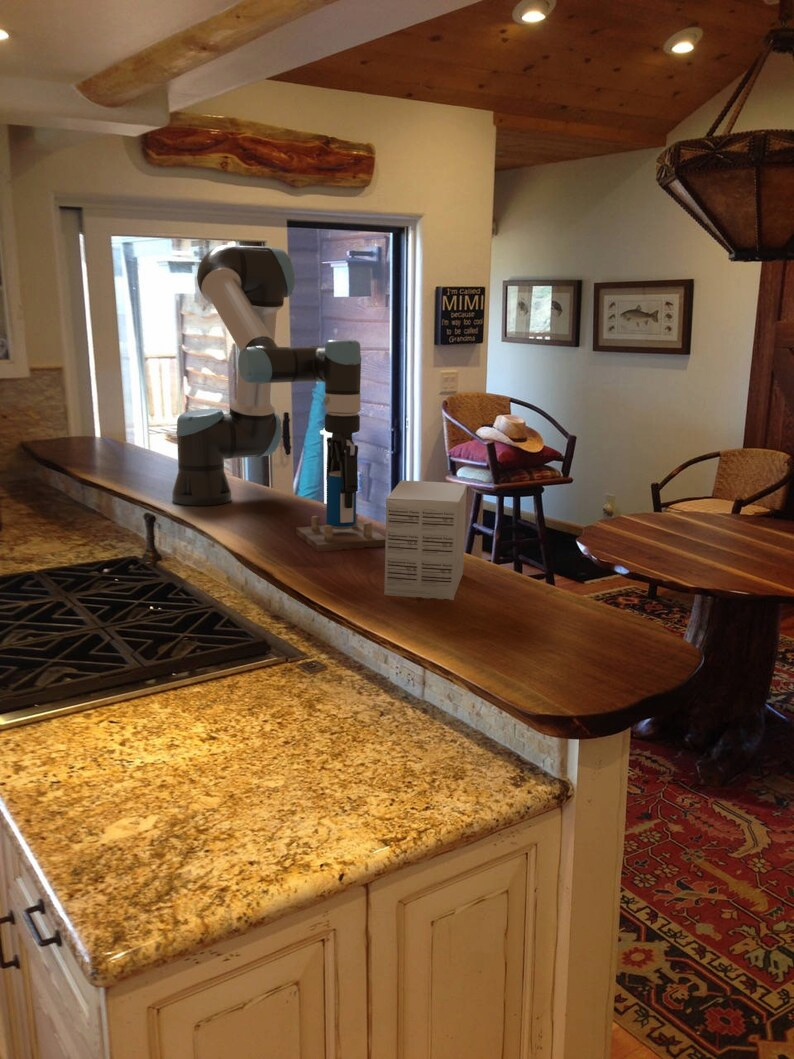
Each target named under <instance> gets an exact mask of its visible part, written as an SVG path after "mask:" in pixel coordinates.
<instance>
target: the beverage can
mask: <svg viewBox="0 0 794 1059" xmlns="http://www.w3.org/2000/svg"><path fill="white" fill-rule="evenodd" d="M341 490H342V482H341V472H340V471H334V472H330V473H329V476H328V477H327V480H326V513H325V514H326V522H325V525H332V526H333V529H338V530H345V529H351V528H352V527H353V526H354V525H355V524H356V514H357V491H356V492H354V500H353V522H346V523H341V522H340V499H341V494H340V493H339V491H341Z"/></svg>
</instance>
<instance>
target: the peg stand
mask: <svg viewBox="0 0 794 1059" xmlns="http://www.w3.org/2000/svg"><path fill="white" fill-rule="evenodd" d="M320 518H321V516H318V515H312V516H311V526H299V527H295V533H297V534H298V535H299V536H300V537H301V538H300V537H299V536H298V535H297V534H296V535H297V536H298V537H299V538H300V539H302V540H303V539H304V540H305V541H306V542H307V543H306V542H305V541H304V540H303V541H304V542H305V543H306V544H308V545H309V546H310V545H311V546H312V548H313V549H314V550H315V551H316V552H317V551H318V553H319V552H320V551H321V552H332V550H333V551H342V549H345V550H352V549H351V548H357V549H365V548H364V547H369V548H377V547H378V548H379V547H380V548H381V547H385V542H386V536H384V535H383V534H381V533H379V532H378V531H376V529H375V530H374V529H373V523H372V522H368V521H367V522H359V521H358V513H356V524H355V525H354V526H353V527H352V528H351V529H345V530H338V529H333V526H332V525H327V524H325V525H321V519H320ZM311 546H310V547H311Z"/></svg>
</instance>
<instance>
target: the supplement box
mask: <svg viewBox="0 0 794 1059" xmlns="http://www.w3.org/2000/svg"><path fill="white" fill-rule="evenodd" d="M467 488H468V484H467V483H462V482H461V483H458V482H445V481H444V482H443V481H439V482H438V481H423V480H405V479H404V480H402V479H401V480H400V481H399V482H398V483H397V485H396V486H395V487H394V489H393V490H392V491H391V492H390V493H389V495H388V496H387V497H386V499H385V537H386V542H385V546H384V548H385V549H384V550H385V552H384V554H385V555H384V557H385V558H384V559H385V560H384V593H383V594H384V595H385V596H390V597H391V596H392V597H393V596H394V597H403V596H404V597H406V598H416V597H422V598H421V599H430V598H437V599H436V600H444V599H450V600H449V601H454V600H455V595H456V593H457V591H458V588H459V585H460V582H461V580H462V577H463V574H464V558H465V557H464V554H465V537H466V536H465V535H466V513H467V512H466V510H467V493H468V492H467V490H468V489H467Z"/></svg>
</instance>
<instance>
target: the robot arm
mask: <svg viewBox="0 0 794 1059" xmlns="http://www.w3.org/2000/svg"><path fill="white" fill-rule="evenodd" d="M196 273H197V274H196V278H197V279H196V280H197V282H196V283H197V286H198V289H199V291H200V293H201V295H202V296H203V298H204V300H206V301H207V302H208V303H210V304H212V305H213V307H214V308H215V310H216V312H217V314H218V315H219V317H220V319H221V320H222V323H223V324H224V326H225V327H226V329H227V331H228V333H229V334H230V336H231V338H232V339H233V342H234V343H235V344H236V347H237V348H238V350H239V353H238V360H237V361H238V362H237V365H238V366H237V367H238V369H237V371H238V372H237V384H236V386H237V387H236V399H235V400H234V401H232V403H231V404H230V406H229V413H224V412H223V410H222V409H220V408H202V409H195V410H191V411H187V412H184V413H182V414H180V415H179V416H178V418H177V422H176V437H177V439H176V440H177V464H178V466H177V468H178V470H177V475H176V478H175V482H174V485H173V488H172V496H171V498H172V502H173V503H175V504H178V505H184V506H194V507H195V506H197V507H200V506H201V507H202V506H214V505H215V506H216V505H221V504H226V503H229V502H231V501H232V498H233V497H232V490H231V487H230V484H229V481H228V479H227V476H226V473H225V459H226V460H230V459H240V458H244V459H245V458H246V459H247V458H262V457H267V456H271V455H273V453H275V452H276V451H277V449H278V447H279V446H280V443H281V440H282V431H283V427H282V426H281V424H282V420H281V418H280V416H279V415H278V414H277V413H276V409H275V407H274V405H272V404H271V390H272V384H275V383H277V384H278V383H315V382H316V383H324V398H322V402H323V403H324V410H325V412H326V414H325V415H324V431H325V432H327V433H331V434H332V435H331V437H330V436H329V437H327V438H326V446H327V447H326V448H327V451H326V481H327V477H328V476H329V473H330V472H334V471H340V472H341V482H342V490H341V491H339V493H340V494H341V499H340V522H341V523H346V522H353V500H354V492H356V493H357V492H358V491H359V486H358V485H359V482H358V479H359V478H358V474H359V473H358V456H359V455H358V453H359V446H358V445H356V444H355V442H354V441H353V435H354V434H357V433H359V432H360V430H361V426H360V425H361V416H360V415H359V414H358V413H360V412H361V374H362V373H361V372H362V355H361V344H360V342H359V341H358V340H355V339H354V340H353V339H328V340H327V341H326V342H325V345H324V346H325V347H324V346H322V345H311V346H278V345H277V344H276V342H275V339H276V338H275V337H276V326H277V325H276V324H277V313H278V311H280V309H282V308H283V307H284V301H285V300H284V299H285V298H288V297H290V296H292V295H293V292H294V290H295V279H296V278H295V277H296V276H295V270H294V266H293V263H292V261H291V258H290V256H289V255H288V253H287V252H286V251H285V250H284V249H282V248H277V247H271V246H257V245H255V246H253V245H233V244H223V245H220V246H217V247H215V248H212V249H211V250H210V251H208V252H207V253H206V254H205V255H204V256H203V258H202V259H201V261H200V263H199V265H198V268H197V272H196ZM354 444H355V445H354Z"/></svg>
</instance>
